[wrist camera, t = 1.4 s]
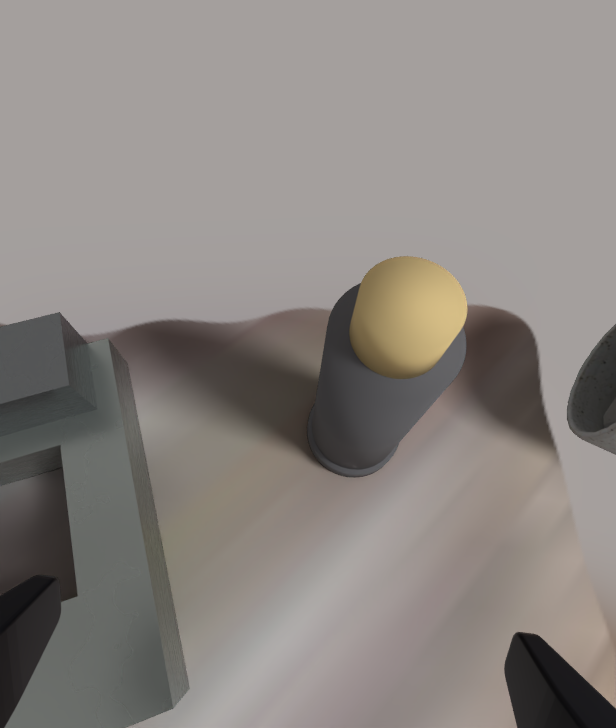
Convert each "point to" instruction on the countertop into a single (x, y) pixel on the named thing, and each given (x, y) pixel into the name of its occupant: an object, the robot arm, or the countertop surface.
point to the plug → (385, 362)
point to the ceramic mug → (596, 396)
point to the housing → (91, 531)
